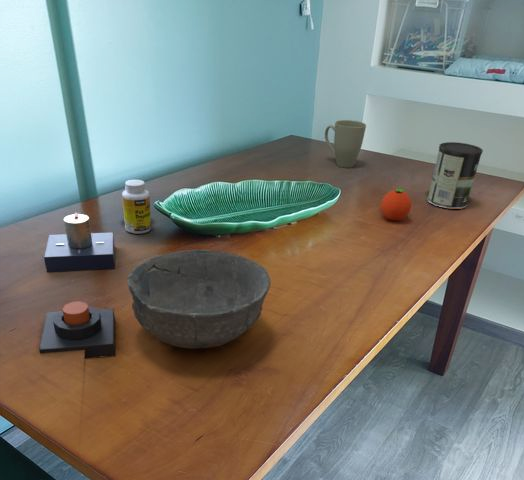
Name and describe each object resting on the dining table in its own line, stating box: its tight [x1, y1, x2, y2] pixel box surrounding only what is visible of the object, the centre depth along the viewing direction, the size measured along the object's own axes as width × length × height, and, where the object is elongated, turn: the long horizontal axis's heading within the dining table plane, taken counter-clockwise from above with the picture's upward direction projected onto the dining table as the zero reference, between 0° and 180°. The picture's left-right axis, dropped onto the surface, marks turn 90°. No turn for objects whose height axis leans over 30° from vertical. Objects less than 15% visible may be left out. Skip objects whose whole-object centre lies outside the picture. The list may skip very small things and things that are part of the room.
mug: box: [324, 119, 367, 169], centre depth 159 cm, size 11×10×12 cm
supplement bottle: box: [121, 179, 152, 235], centre depth 112 cm, size 6×6×10 cm
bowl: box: [127, 249, 272, 349], centre depth 81 cm, size 21×21×10 cm
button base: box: [38, 306, 116, 359], centre depth 79 cm, size 10×10×4 cm
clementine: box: [380, 188, 412, 221], centre depth 126 cm, size 8×7×7 cm
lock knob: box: [63, 212, 92, 249], centre depth 99 cm, size 4×4×5 cm
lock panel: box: [43, 232, 116, 273], centre depth 101 cm, size 12×10×3 cm
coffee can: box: [426, 141, 484, 208], centre depth 135 cm, size 10×10×14 cm
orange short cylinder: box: [61, 301, 90, 325], centre depth 78 cm, size 4×4×2 cm
